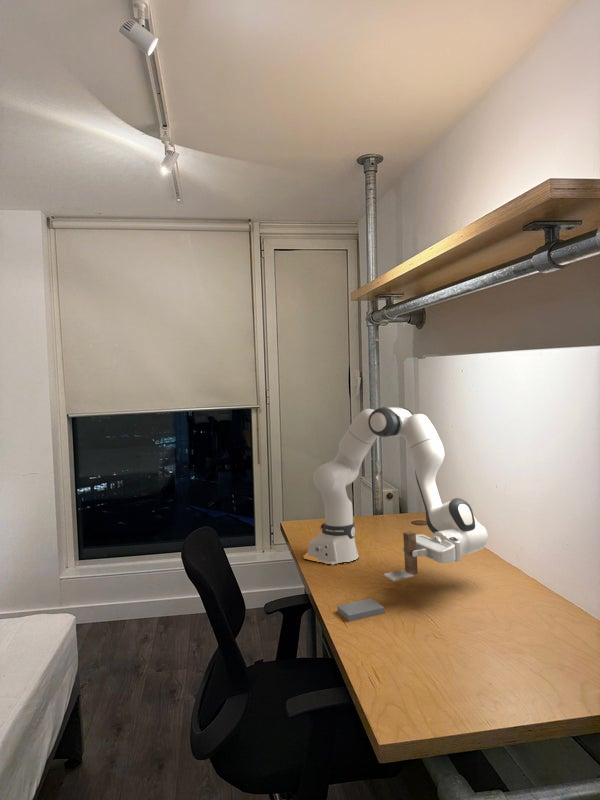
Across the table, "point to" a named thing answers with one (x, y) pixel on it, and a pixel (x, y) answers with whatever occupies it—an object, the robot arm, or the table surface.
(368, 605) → the tile
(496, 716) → the table surface
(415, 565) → the brown and white bookend
